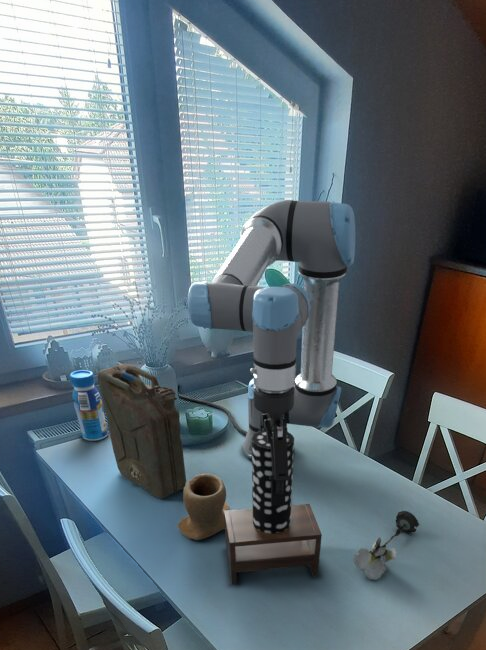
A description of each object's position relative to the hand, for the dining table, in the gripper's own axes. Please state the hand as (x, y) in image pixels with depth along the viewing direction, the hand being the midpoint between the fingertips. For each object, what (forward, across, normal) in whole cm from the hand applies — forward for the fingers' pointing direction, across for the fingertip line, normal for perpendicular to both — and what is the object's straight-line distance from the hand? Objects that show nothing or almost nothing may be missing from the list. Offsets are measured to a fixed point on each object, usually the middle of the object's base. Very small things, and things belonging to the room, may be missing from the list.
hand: (272, 486), depth 108 cm
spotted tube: (+9, 0, 0) cm, 9 cm away
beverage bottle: (+22, -72, -46) cm, 88 cm away
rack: (+21, 0, 0) cm, 21 cm away
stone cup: (+21, -16, -13) cm, 30 cm away
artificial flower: (+21, +1, +29) cm, 36 cm away
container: (+21, -41, -28) cm, 54 cm away
